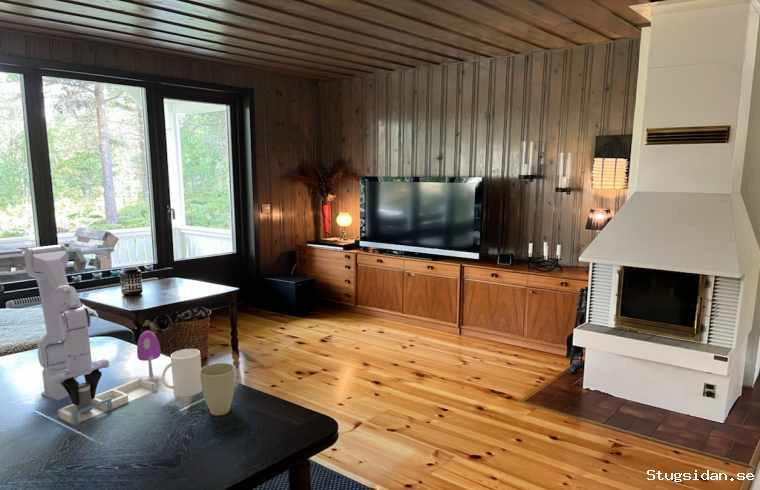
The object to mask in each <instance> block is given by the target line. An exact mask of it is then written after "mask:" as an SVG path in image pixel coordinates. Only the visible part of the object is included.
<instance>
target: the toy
mask: <svg viewBox="0 0 760 490" xmlns="http://www.w3.org/2000/svg"><path fill="white" fill-rule="evenodd" d="M136 355H137V359H138V360H139V361H146V362H148V376H153V375H154V372H153V364H152V361H153V360H156V359H158V358H159V357H160V356H161V346H160V341H159V339H158V337H157V335H156V334H155V333H154V332H153V331H151V330H145V331H143V332H142V333H141V334H140V335H139V338H138V340H137V346H136Z"/></svg>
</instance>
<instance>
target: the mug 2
mask: <svg viewBox="0 0 760 490" xmlns="http://www.w3.org/2000/svg"><path fill="white" fill-rule="evenodd" d="M235 371H236V369H235V366H234V364H232V363H228V362H218V363H217V362H215V363H212V364H207V365H206V366H203V367H201V370H200V379H201V385H202V395H203V398H204V401H205V403H206V405H207V407H208V409H209V413H210V414H211V415H213V416H224V415H226V414H228V413H229V412H230V410H231V406H232V402H233V397H234V394H235V393H234V392H235V377H236V376H235V375H236V374H235Z"/></svg>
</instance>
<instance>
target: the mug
mask: <svg viewBox="0 0 760 490" xmlns="http://www.w3.org/2000/svg"><path fill="white" fill-rule="evenodd" d="M169 368H171V373H172V374H171V375H172V385H169V384H167V382H166V381H165V374H166V372H167V370H168V369H169ZM201 369H202V358H201V351H200V350H199V349H197V348H184V349H180V350H176V351H174V352H172V353H171V354H170V362H169V363H168V364H167V365H166V366H165V367H164V369H163V372H162V375H161V380H162V383H163V385H164V386H165V387H166V388H168V389H170V390H172V391H173V395H174V396H175V397H178V398H179V397H180V398H187V397H192V396H196V395H198V394H200V393H203V391H202V385H201V379H200V370H201Z"/></svg>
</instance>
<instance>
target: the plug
mask: <svg viewBox="0 0 760 490" xmlns="http://www.w3.org/2000/svg"><path fill="white" fill-rule="evenodd" d="M78 396H79V405H77V411H78V410H80V409H83V408H85V407H88V406H90V405H92V399H91V390H90V383H86V382H81V383H80V382H79V386H78ZM92 409H93V408H92ZM92 409H89V410H87V411H84V412H82V413H86V412H89V411H91V410H92Z"/></svg>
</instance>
